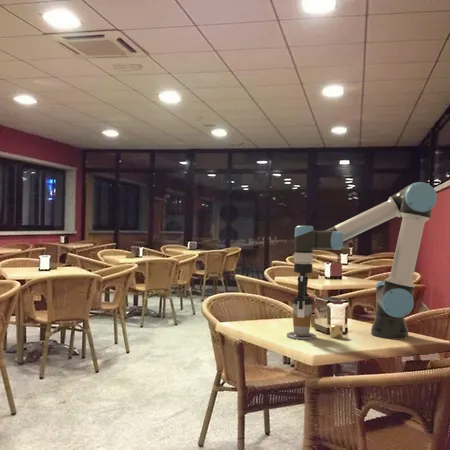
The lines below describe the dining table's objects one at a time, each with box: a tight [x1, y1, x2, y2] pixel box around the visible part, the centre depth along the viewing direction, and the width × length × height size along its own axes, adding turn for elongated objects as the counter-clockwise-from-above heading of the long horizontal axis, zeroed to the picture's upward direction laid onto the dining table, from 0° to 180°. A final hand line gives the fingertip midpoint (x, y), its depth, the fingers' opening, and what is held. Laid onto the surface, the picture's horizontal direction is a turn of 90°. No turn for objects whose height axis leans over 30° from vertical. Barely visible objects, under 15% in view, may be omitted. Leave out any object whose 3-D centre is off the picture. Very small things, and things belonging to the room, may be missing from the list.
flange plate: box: [286, 331, 317, 341], centre depth 218 cm, size 12×12×1 cm
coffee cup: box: [291, 296, 313, 336], centre depth 218 cm, size 8×8×15 cm
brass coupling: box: [329, 324, 344, 340], centre depth 218 cm, size 5×5×5 cm
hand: (302, 314), depth 218 cm, fingers open, 13 cm apart
